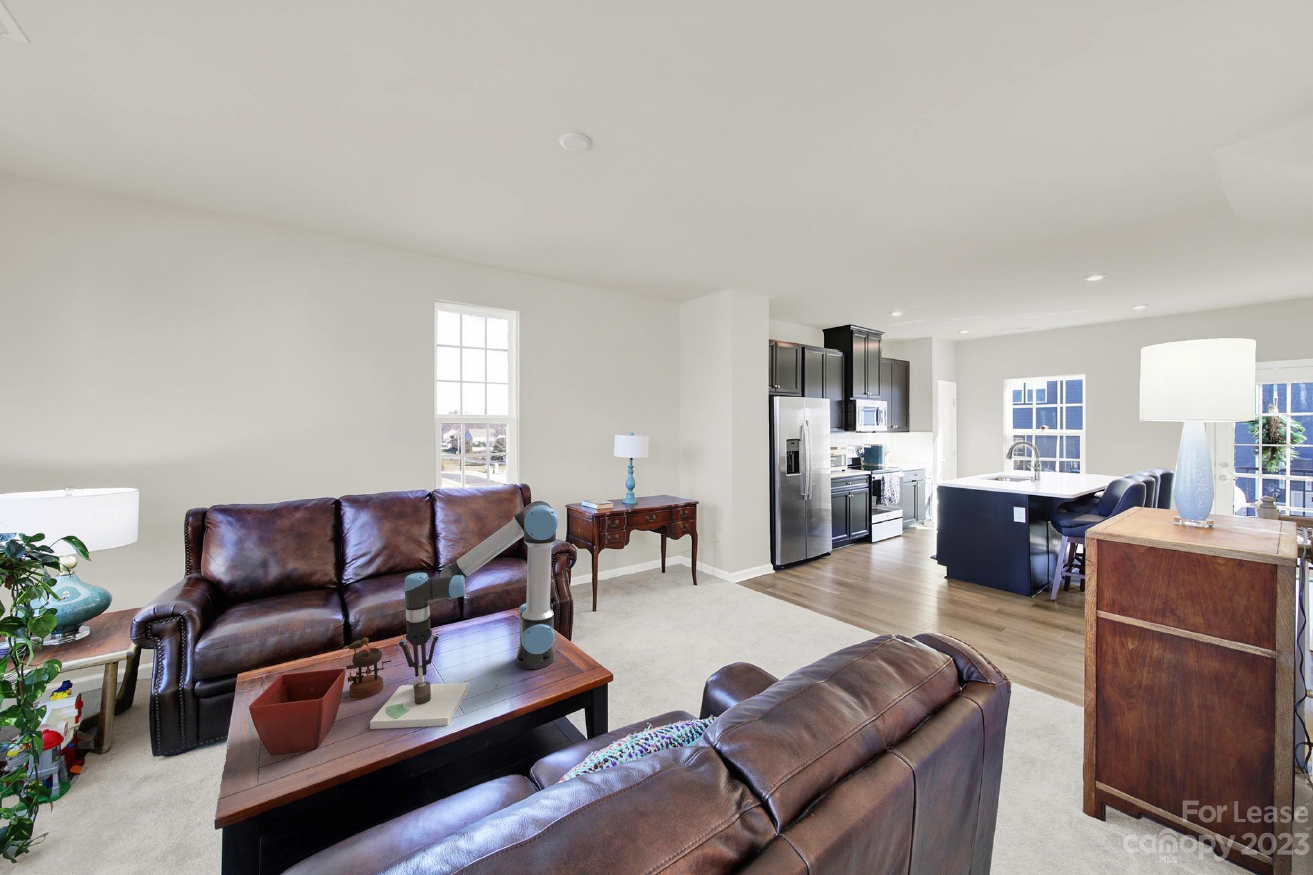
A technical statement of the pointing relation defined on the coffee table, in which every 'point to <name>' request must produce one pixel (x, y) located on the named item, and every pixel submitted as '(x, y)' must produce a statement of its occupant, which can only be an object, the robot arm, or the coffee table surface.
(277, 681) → the plant pot
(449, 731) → the coffee table surface
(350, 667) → the music box
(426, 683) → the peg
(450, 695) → the board
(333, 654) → the coffee table surface
